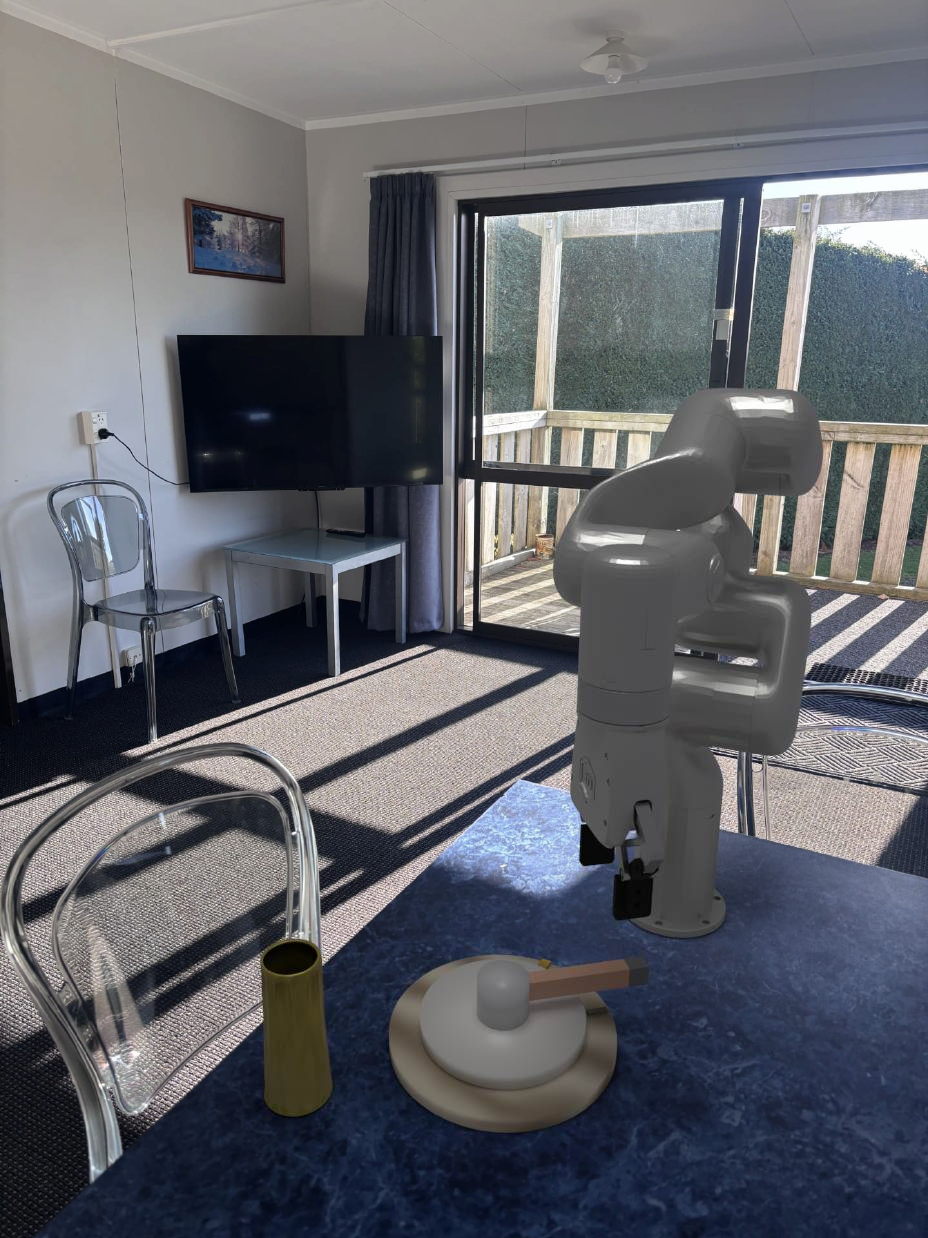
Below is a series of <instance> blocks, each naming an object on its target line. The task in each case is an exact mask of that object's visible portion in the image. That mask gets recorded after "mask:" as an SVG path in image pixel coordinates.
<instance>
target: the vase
mask: <svg viewBox="0 0 928 1238" xmlns="http://www.w3.org/2000/svg"><path fill="white" fill-rule="evenodd" d="M259 965H260V976H261V977H260V980H261V1000H262V1001H261V1002H262V1004H261V1005H262V1018H263V1019H262V1021H263V1063H264V1065H263V1066H264V1068H263V1071H264V1072H263V1073H264V1091H263V1097H264V1101H265V1103H266V1105H267V1106H268V1108H269V1109H270V1110H271V1111H272V1112H274V1113H276V1114H278V1115H281V1116H285V1117H291V1118H295V1117H297V1118H298V1117H302V1116H307V1115H309V1114H312V1113H314V1112H316V1111H317V1110H319V1109H320V1108H322V1106H324V1104H325V1103H327V1101H328V1100H329V1098H330V1097H331V1095H332V1091H333V1083H334V1082H333V1079H332V1071H331V1063H330V1053H329V1044H328V1036H327V1028H326V1017H325V999H324V997H325V996H324V980H323V979H324V978H323V976H324V974H323V957H322V953H321V950H320V948H319V947H318V945H316V944H315V943H314V942H312V941H310V940H307V939H304V938H303V939H302V938H287V939H283V940H281V941H278V942H275V943H273V944H271V945H269V946H267V948H266V949H264V951H263V952H262V954H261V956H260V959H259Z"/></svg>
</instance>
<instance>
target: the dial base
mask: <svg viewBox="0 0 928 1238" xmlns="http://www.w3.org/2000/svg"><path fill="white" fill-rule="evenodd" d="M490 959H509V960H517V961H523V962H527V963H531V964H535V965H538V966H540V967H543V968H545V969H547V970H548V969H555V968H561V967H560V966H557V965H554V964H552V960H548V959H545V958H541V960H540V959H536V958H532V957H526V956H523V955H522V956H521V955H511V954H486V955H485V954H484V955H483V954H482V955H476V956H470V957H465V958H461V959H457V960H454V961H451V962H449V963H445V964H443V965H440V966H438V967H435V968H434V969H432V970H430V971H428V972H427V973H425V974H424V975H422V976H420V977H419V978H418V979H416V980H415V981H414V982H413V983H412V984H411V985H409V987H408V988H406V990H405V991H404V992H403V994H402V995H401V996H400V998H399V999H398V1001H397V1002H396V1004H395V1006H394V1008H393V1011H392V1013H391V1016H390V1020H389V1026H388V1027H389V1028H388V1040H389V1041H388V1042H389V1043H388V1045H389V1046H388V1047H389V1049H388V1051H389V1056H390V1061H391V1066H392V1068H393V1070H394V1073H395V1075H396V1078H397V1079H398V1081H399V1082H400V1084H401V1085H402V1087H403V1088H404V1089H405V1091H406V1092H407V1093H408V1094H409V1095H410V1096H411V1097H412V1098H413V1099H414V1100H415V1101H416V1102H418V1104H419V1105H421V1106H422V1107H424V1109H426V1110H428V1111H429V1112H431V1113H433V1115H435V1116H438V1117H440V1118H441V1119H444V1120H446V1121H448V1122H450V1123H453V1124H456V1125H458V1126H461V1127H463V1128H468V1129H473V1130H477V1131H481V1132H491V1133H503V1134H504V1133H505V1134H507V1133H508V1134H513V1133H526V1132H527V1133H528V1132H533V1131H538V1130H543V1129H547V1128H549V1127H550V1128H551V1127H553V1126H556V1125H559V1124H561V1123H564V1122H566V1121H568V1120H570V1119H572V1118H574V1117H576V1116H577V1115H579V1114H581V1113H582V1112H584V1111H585V1110H587V1109H588V1108H589V1107H590V1106H591V1105H592V1104H594V1103H595V1102H596V1101H597V1100H598V1099H599V1098H600V1096H601V1095H602V1094H603V1092H605V1089H606V1088H607V1086H608V1085H609V1083H610V1082H611V1079H612V1076H613V1075H614V1074H613V1073H614V1071H615V1067H616V1063H617V1052H618V1034H617V1028H616V1023H615V1020H614V1018H613V1015H612V1012H611V1011H610V1009H609V1007H608V1005H607V1004H606V1003H605V1001H604V1000H603V999H602V997H601V996H600V995H599V994H598V993H597V991H596V992H589V993H582V994H578V995H579V997H580V999H581V1000H582V1003H583V1005H584V1008H585V1013H586V1036H585V1042H584V1046H583V1048H582V1051H581V1053H580V1055H579V1056H578V1058H577V1059H576V1061H575V1062H574V1063H573V1064H572V1065H571V1066H570V1067H569V1068H568V1069H567V1070H566V1071H565V1072H563V1073H562V1074H560V1075H559V1076H557V1077H556V1078H554V1079H551V1080H549V1081H547V1082H545V1083H542V1084H539V1085H536V1086H532V1087H527V1088H520V1089H492V1088H486V1087H481V1086H477V1085H473V1084H470V1083H467V1082H465V1081H462V1080H460V1079H458V1078H456V1077H454V1076H452V1075H451V1074H449V1073H447V1072H446V1071H445V1070H443V1069H442V1068H441V1067H440V1066H439V1065H438V1064H437V1063H436V1062H435V1061H434V1060H433V1059H432V1058H431V1057H430V1055H429V1054H428V1053H427V1051H426V1049H425V1047H424V1045H423V1042H422V1039H421V1033H420V1008H421V1003H422V1000H423V998H424V996H425V994H426V992H427V991H428V989H429V988H430V987H431V986H432V984H433V983H434V982H435V981H436V980H438V979H439V978H440V977H441V976H443V975H444V974H446V973H447V972H449V971H451V970H453V969H455V968H457V967H459V966H462V965H465V964H468V963H472V962H476V961H481V960H490Z"/></svg>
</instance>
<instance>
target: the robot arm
mask: <svg viewBox="0 0 928 1238" xmlns="http://www.w3.org/2000/svg"><path fill="white" fill-rule="evenodd" d="M820 425H821V424H820V420H819V416H818V413H817V410H816V408H815V405H814V404H813V403H812V401H810V399H809V398H808V397H807V395H806V396H805V395H804V394H803V393H802V392H799V391H797V390H794V389H786V388H751V387H750V388H743V387H741V388H739V387H737V388H736V387H717V388H715V387H712V388H706V389H701V390H699V391H696V392H694V393H692V394H690V395H688V396H687V397H685V399H683V400H682V401H681V403H679V405H678V406H677V408H676V410H675V412H674V414H673V415H672V418H671V419H670V421H669V424H668V425H667V428H666V430H665V431H664V434H663V436H662V438H661V440H660V443H659V444H658V447H657V448H656V450H655V453H654V454H653V457H651V458H649V459H646V460H644V461H641V462H639V463H637V464H635V465H633V466H631V467H628V468H626V469H625V470H622V471H620V472H618V473H616V474H614V475H612V476H610V477H607V478H606V479H604V480H602V481H601V482H599V483H598V484H596V485H594V486H593V487H591V489H589V490H588V492H586V493H585V494H584V495H583V497H582V498H581V499H580V500H579V502H578V503H577V505H576V507H575V508H574V511H573V512H572V513H571V516H570V518H569V520H568V521H567V523H566V525H565V526H564V527H565V528H563V531H562V534H561V536H560V538H559V541H558V543H557V545H556V549H555V552H554V557H553V561H552V563H553V564H552V577H553V583H554V587H555V589H556V590H557V591H556V592H557V593H558V595H559V596H560V597H561V598H562V599H563V600H564V601H565V602H567V603H568V604H570V605H571V606H574V607H577V608H580V614H579V615H580V617H579V618H580V619H579V637H578V638H579V639H578V641H579V642H578V661H577V662H578V669H577V687H576V688H577V689H576V692H577V693H576V695H577V696H576V711H575V712H576V713H575V714H576V715H577V718H576V725H575V730H574V740H573V750H572V751H573V752H572V760H571V773H570V783H569V784H570V785H569V794H570V799H571V802H572V803H573V805H574V808H575V809H576V810H577V812H578V813H579V819H580V821H581V824H580V825H579V826H580V831H579V833H580V834H579V851H578V853H579V854H578V857H579V858H578V861H579V863H580V865H581V866H582V867H591V866H601V865H609V864H613V863H614V862H615V857H616V860H617V869H618V873H617V874H616V873H615V874H613V890H612V910H611V914H612V918H613V919H614V920H615V921H627V920H629V921H630V922H632V923H633V924H634V925H637V926H638V927H640V928H642V929H644V930H646V932H647V931H648V932H650V933H653V934H656V935H659V936H664V937H669V938H676V939H677V938H679V939H682V938H683V939H685V938H686V939H687V938H697V937H702V936H705V935H708V934H711V933H712V932H715V931H716V930H717V929H719V927H721V926H722V925H723V923H724V921H725V918H726V913H727V912H726V910H727V905H726V902H725V899H724V898H723V896H722V894H721V892H719V891H718V890H717V888H715V883H716V872H717V859H718V851H719V839H720V830H721V829H720V827H721V815H722V807H723V805H722V804H723V796H724V777H723V773H722V769H721V766H720V764H719V762H718V760H717V758H716V756H715V754H714V752H713V751H712V750H711V748H718V749H723V750H729V751H733V752H741V753H746V754H753V755H756V756H757V755H758V756H765V757H766V756H768V757H776V756H780V755H782V754H784V753H785V752H787V751H788V750H789V749H790V747H791V746H792V744H793V742H794V739H795V737H796V734H797V729H798V724H799V717H800V712H801V706H802V705H801V704H802V696H803V689H804V682H805V673H806V667H807V662H808V661H807V660H808V652H809V647H810V646H809V645H810V639H811V631H812V630H811V627H812V604H811V603H812V602H811V600H810V599H811V598H810V595H809V593H808V591H807V590H806V588H805V587H804V585H802V584H800V583H799V582H798V581H795V580H794V579H791V578H786V577H780V576H779V577H778V576H771V575H769V576H768V575H763V574H762V575H759V574H751V573H750V570H751V563H752V557H753V551H754V546H755V541H754V540H755V539H754V535H753V532H752V531H751V529H750V528H749V526H748V524H747V522H746V520H744V518H743V516H742V515H741V514H740V512H739V511H738V510H737V509H736V508H735V507H734V505H733V504H732V503H731V500H732V498H733V496H734V494H745V495H757V496H759V495H761V496H763V495H764V496H777V497H800V496H803V495H806V494H807V493H809V492H810V491H811V490H812V489H813V488H814V487H815V486H816V483H817V481H818V480H819V477H820V474H821V471H822V466H823V460H824V443H823V436H822V433H821V432H822V430H821V426H820ZM676 645H677V646H679V647H681V648H684V649H687V650H693V651H698V652H701V653H703V652H704V653H708V654H709V653H711V654H714V655H715V654H716V655H725V656H732V657H737V658H739V657H740V658H747V659H754V660H756V661H758V662H759V663H760V664H761V666H762V667H760V666H754V665H746V664H740V663H739V664H738V663H731V662H725V661H721V660H714V659H708V658H707V659H705V658H699V657H691V656H680V655H678V656H677V655H676V656H675V652H676ZM634 831H635V837H634V838H627V837H628V835H629V833H630V832H634ZM630 847H631V848H632V847H634V856H633V857H634V858H633V859H632V860H631V861H630V862H629V855H628V848H630ZM615 855H616V856H615Z"/></svg>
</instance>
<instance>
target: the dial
mask: <svg viewBox="0 0 928 1238" xmlns="http://www.w3.org/2000/svg"><path fill="white" fill-rule="evenodd" d="M649 971H650V966H649V964H648V963H647V961H646V959H645V957H644V956H642V955H641V956H636V957H628V958H621V959H620V958H619V959H614V960H607V961H600V962H594V963H592V962H591V963H585V964H578V965H570V966H562V967H560V968H555V969H548V970H547V969H545V968H543V967H540V966H538V965H535V964H531V963H527V962H523V961H517V960H509V959H490V960H481V961H476V962H472V963H468V964H465V965H462V966H459V967H457V968H455V969H453V970H451V971H449V972H447V973H446V974H444V975H443V976H441V977H440V978H439V979H438V980H436V981H435V982H434V983H433V984H432V986H431V987H430V988H429V989H428V991H427V992H426V994H425V996H424V998H423V1000H422V1003H421V1008H420V1033H421V1039H422V1042H423V1045H424V1047H425V1049H426V1051H427V1053H428V1054H429V1055H430V1057H431V1058H432V1059H433V1060H434V1061H435V1062H436V1063H437V1064H438V1065H439V1066H440V1067H441V1068H442V1069H443V1070H445V1071H446V1072H447V1073H449V1074H451V1075H452V1076H454V1077H456V1078H458V1079H460V1080H462V1081H465V1082H467V1083H470V1084H473V1085H477V1086H481V1087H486V1088H492V1089H520V1088H527V1087H532V1086H536V1085H539V1084H542V1083H545V1082H547V1081H549V1080H551V1079H554V1078H556V1077H557V1076H559V1075H560V1074H562V1073H563V1072H565V1071H566V1070H567V1069H568V1068H569V1067H570V1066H571V1065H572V1064H573V1063H574V1062H575V1061H576V1059H577V1058H578V1056H579V1055H580V1053H581V1051H582V1048H583V1046H584V1042H585V1036H586V1013H585V1008H584V1005H583V1003H582V1000H581V999H580V997H579V995H578V994H582V993H589V992H596V993H597V992H601V991H602V992H603V991H608V990H609V991H610V990H614V989H621V988H629V987H636V986H644V985H648V984H649V973H650V972H649Z"/></svg>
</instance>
